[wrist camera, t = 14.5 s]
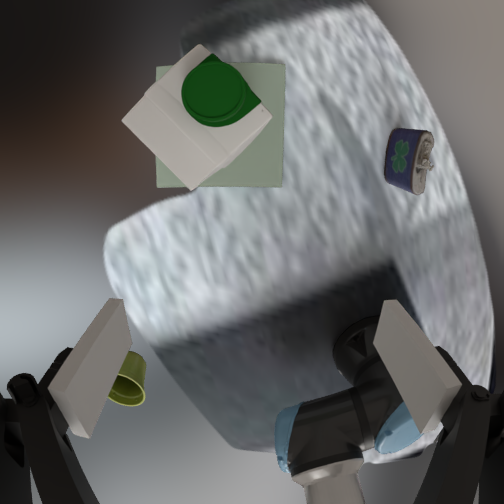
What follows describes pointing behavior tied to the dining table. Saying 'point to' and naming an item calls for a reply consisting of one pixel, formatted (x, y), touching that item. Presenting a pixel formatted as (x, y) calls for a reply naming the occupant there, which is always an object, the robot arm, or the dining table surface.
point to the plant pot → (129, 381)
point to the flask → (408, 159)
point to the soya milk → (198, 116)
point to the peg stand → (261, 148)
